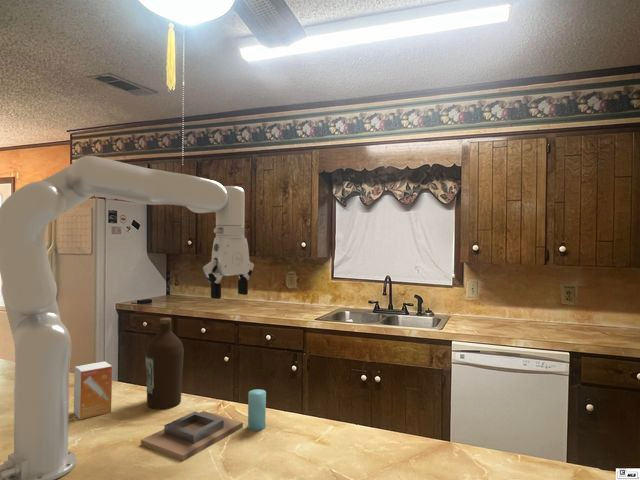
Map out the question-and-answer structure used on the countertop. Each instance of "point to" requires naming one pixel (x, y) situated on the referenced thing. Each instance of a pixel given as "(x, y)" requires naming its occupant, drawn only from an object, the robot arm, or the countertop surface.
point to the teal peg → (256, 409)
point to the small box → (92, 389)
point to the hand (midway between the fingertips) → (229, 296)
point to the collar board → (191, 434)
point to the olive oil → (164, 368)
